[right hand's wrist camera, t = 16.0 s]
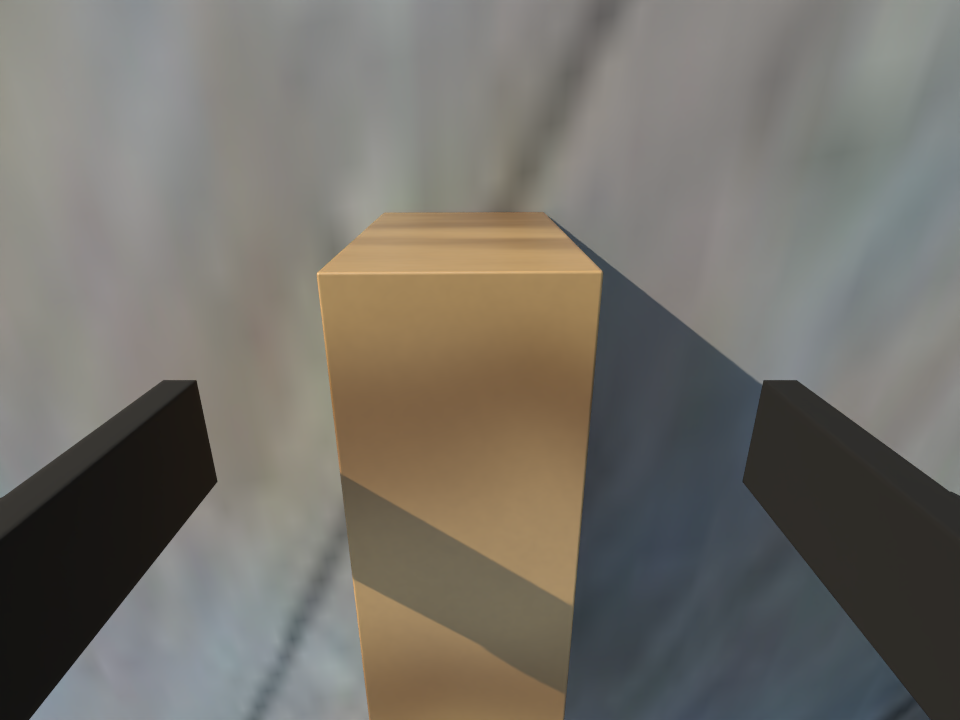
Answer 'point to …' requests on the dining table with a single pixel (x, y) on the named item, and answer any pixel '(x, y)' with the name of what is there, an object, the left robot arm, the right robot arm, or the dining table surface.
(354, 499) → the bar
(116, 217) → the dining table surface
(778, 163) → the dining table surface
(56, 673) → the right robot arm
